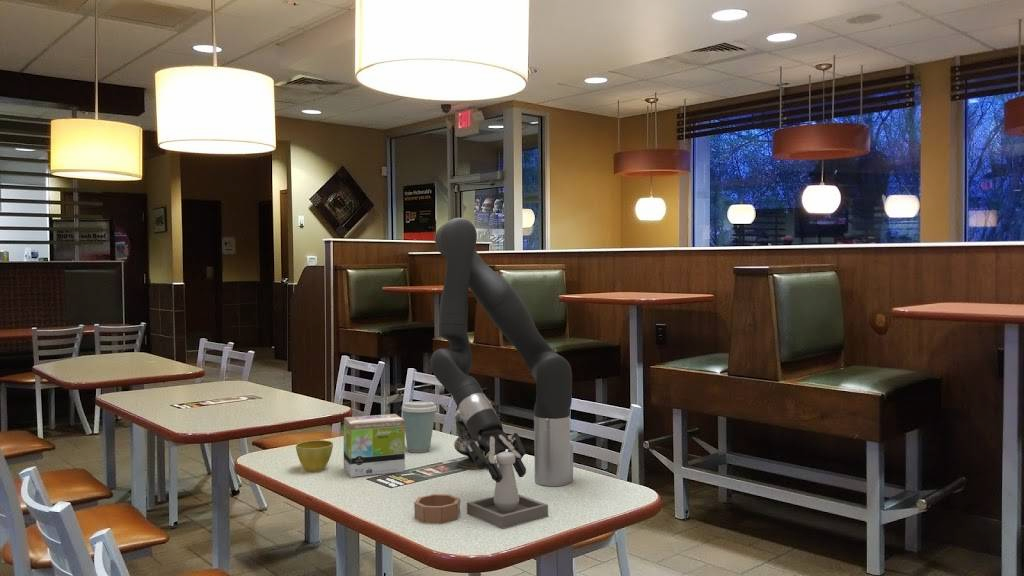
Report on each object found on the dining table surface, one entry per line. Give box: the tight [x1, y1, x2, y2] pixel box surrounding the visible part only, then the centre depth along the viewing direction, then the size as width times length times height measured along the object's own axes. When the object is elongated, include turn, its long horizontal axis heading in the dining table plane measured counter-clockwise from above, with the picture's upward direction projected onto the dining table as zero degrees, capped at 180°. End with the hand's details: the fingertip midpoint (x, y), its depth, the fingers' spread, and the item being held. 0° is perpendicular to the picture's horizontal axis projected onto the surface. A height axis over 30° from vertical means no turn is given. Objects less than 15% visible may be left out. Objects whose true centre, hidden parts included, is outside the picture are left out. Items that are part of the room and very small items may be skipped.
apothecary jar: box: [453, 400, 497, 470], centre depth 221 cm, size 12×12×18 cm
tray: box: [466, 493, 549, 529], centre depth 176 cm, size 13×13×2 cm
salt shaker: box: [493, 451, 520, 513], centre depth 177 cm, size 6×6×13 cm
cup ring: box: [413, 493, 461, 524], centre depth 176 cm, size 10×10×4 cm
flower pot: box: [295, 439, 334, 473], centre depth 217 cm, size 10×10×7 cm
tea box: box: [343, 413, 406, 478], centre depth 215 cm, size 15×10×15 cm, turn 114°
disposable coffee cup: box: [401, 401, 437, 454], centre depth 238 cm, size 11×11×15 cm
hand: (511, 477), depth 175 cm, fingers open, 6 cm apart
